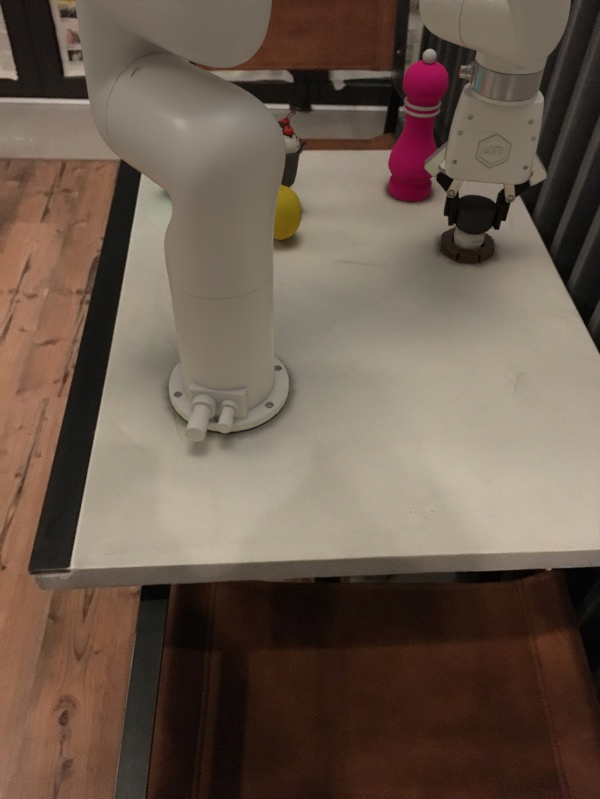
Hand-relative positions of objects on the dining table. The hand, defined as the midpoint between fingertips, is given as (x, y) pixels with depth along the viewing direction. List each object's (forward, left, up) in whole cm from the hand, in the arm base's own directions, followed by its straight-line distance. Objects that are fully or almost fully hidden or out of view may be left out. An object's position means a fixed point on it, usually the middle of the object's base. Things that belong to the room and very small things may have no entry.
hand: (473, 221), depth 89 cm
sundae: (+5, +26, -4) cm, 27 cm away
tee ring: (0, 0, -4) cm, 4 cm away
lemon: (-2, +25, -4) cm, 26 cm away
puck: (0, 0, -1) cm, 1 cm away
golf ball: (0, 0, -4) cm, 4 cm away
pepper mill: (+14, +8, -4) cm, 17 cm away
